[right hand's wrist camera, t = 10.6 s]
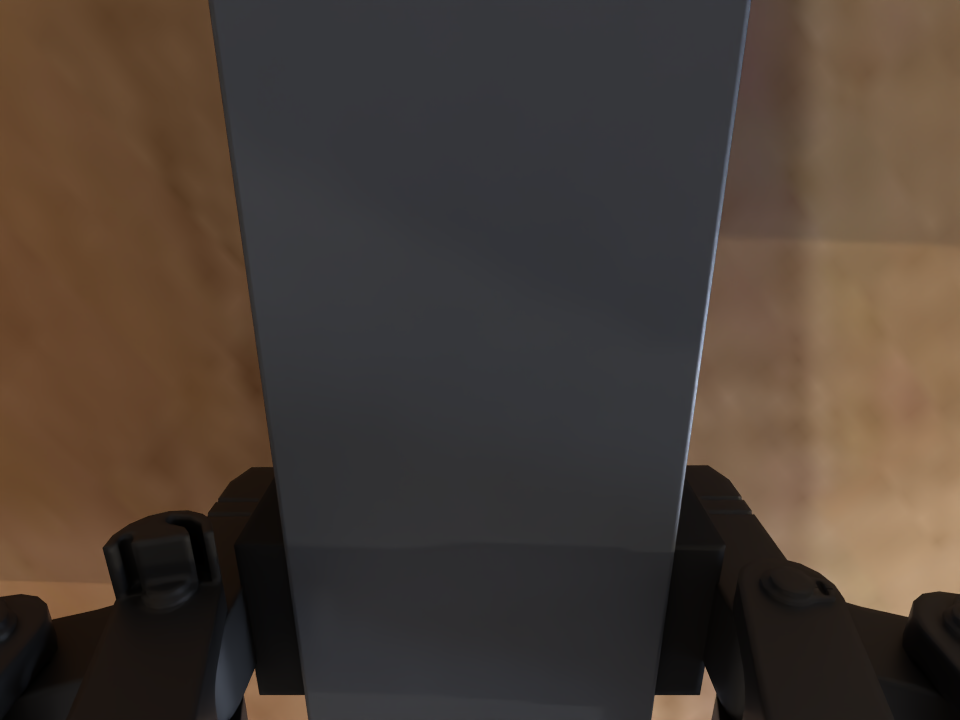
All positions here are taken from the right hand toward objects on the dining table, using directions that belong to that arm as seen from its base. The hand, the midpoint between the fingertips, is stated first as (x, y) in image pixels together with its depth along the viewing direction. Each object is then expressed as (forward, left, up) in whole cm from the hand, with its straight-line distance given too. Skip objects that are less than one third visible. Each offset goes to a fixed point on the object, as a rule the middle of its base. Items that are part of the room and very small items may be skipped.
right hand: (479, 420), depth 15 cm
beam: (+2, -20, -1) cm, 20 cm away
